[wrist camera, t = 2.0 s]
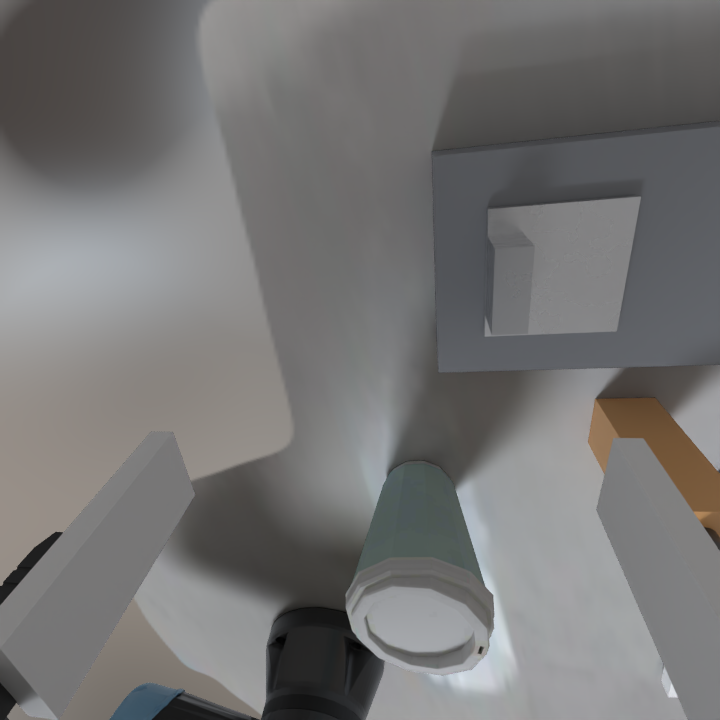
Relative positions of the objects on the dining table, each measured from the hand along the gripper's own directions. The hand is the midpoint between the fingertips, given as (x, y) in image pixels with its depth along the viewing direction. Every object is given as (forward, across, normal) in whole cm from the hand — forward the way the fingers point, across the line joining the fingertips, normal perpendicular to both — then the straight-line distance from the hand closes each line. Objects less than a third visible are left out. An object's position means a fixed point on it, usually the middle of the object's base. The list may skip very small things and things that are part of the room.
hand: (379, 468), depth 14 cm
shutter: (+17, -9, 0) cm, 19 cm away
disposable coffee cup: (+22, 0, +22) cm, 31 cm away
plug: (+22, -17, +14) cm, 32 cm away
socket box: (+22, -13, 0) cm, 26 cm away
